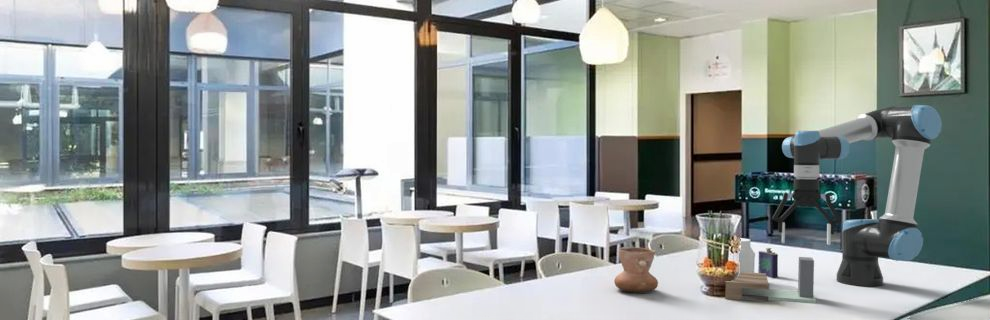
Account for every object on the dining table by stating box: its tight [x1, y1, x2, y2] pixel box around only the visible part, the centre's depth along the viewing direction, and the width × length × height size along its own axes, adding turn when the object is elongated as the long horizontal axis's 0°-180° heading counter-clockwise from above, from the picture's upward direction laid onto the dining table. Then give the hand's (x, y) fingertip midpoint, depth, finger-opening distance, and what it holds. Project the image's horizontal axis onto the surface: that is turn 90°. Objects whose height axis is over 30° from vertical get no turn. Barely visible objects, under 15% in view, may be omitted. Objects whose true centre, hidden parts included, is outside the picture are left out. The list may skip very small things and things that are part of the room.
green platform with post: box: [742, 256, 817, 304], centre depth 232 cm, size 13×22×13 cm, turn 72°
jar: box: [739, 237, 756, 273], centre depth 259 cm, size 12×10×15 cm
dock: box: [724, 272, 770, 302], centre depth 235 cm, size 20×13×6 cm, turn 161°
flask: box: [757, 247, 779, 279], centre depth 268 cm, size 9×3×11 cm, turn 21°
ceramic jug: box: [613, 246, 659, 294], centre depth 239 cm, size 18×14×14 cm
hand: (805, 243), depth 229 cm, fingers open, 13 cm apart
